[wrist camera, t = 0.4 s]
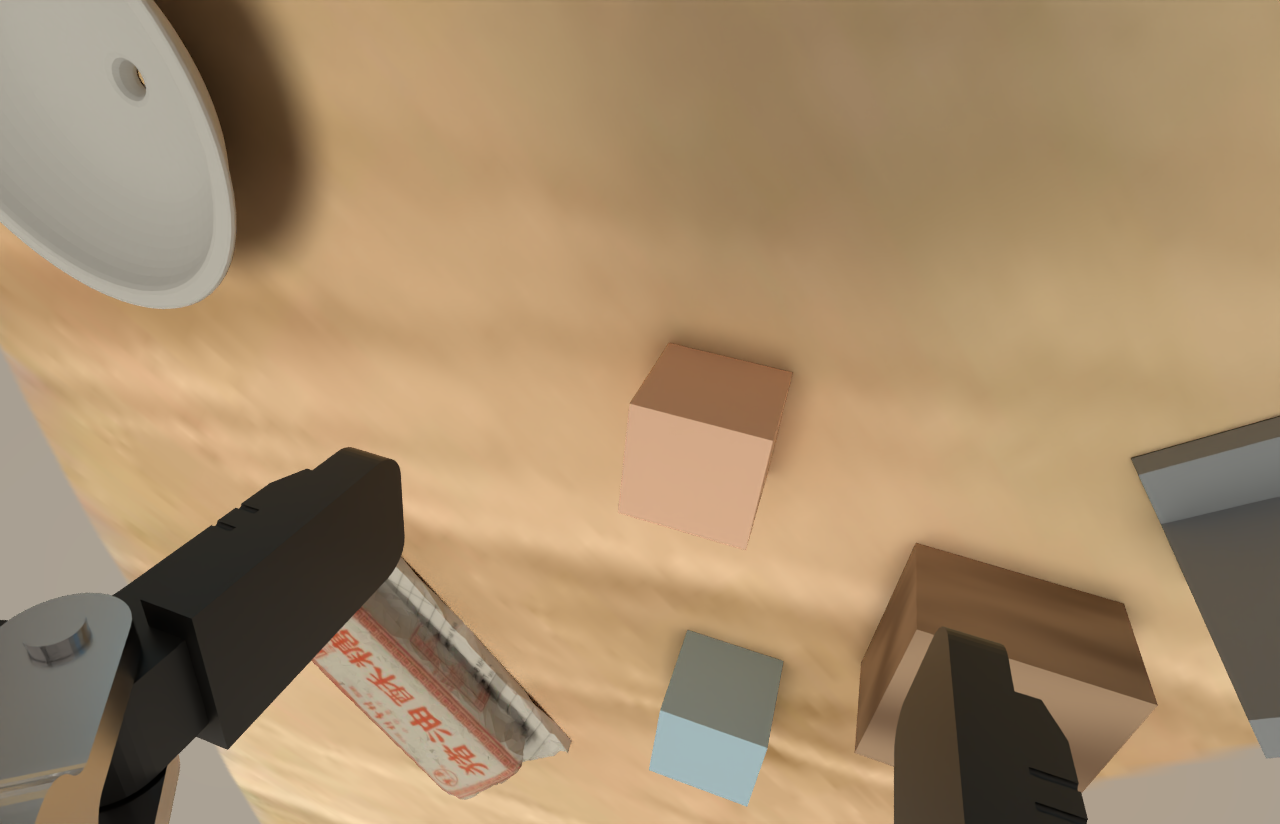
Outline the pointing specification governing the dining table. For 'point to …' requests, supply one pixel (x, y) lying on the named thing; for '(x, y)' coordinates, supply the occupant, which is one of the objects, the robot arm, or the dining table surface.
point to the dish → (113, 150)
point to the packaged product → (436, 689)
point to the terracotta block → (702, 443)
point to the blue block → (717, 717)
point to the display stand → (1230, 553)
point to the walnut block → (1010, 653)
